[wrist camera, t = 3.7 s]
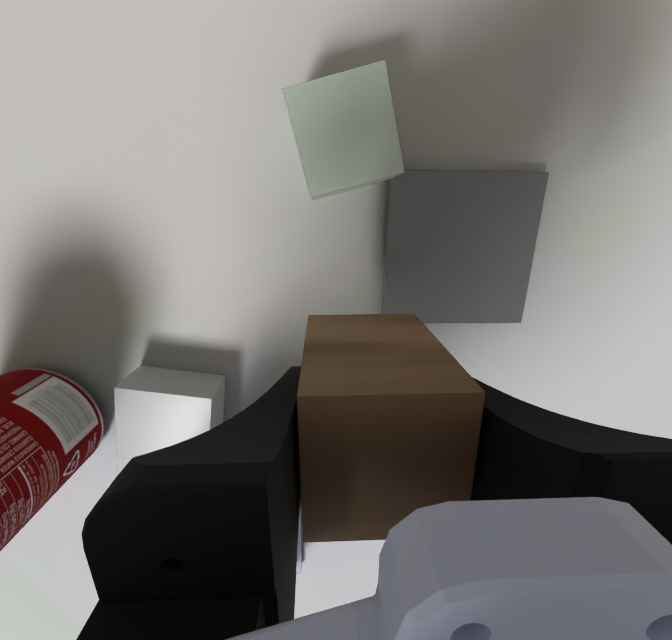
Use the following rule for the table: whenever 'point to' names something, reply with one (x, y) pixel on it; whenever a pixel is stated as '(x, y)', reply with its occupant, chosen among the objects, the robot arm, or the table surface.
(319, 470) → the walnut block
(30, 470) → the soda can
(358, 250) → the table surface
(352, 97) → the sage block
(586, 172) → the table surface
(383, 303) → the slate coaster
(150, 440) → the grey plastic box
